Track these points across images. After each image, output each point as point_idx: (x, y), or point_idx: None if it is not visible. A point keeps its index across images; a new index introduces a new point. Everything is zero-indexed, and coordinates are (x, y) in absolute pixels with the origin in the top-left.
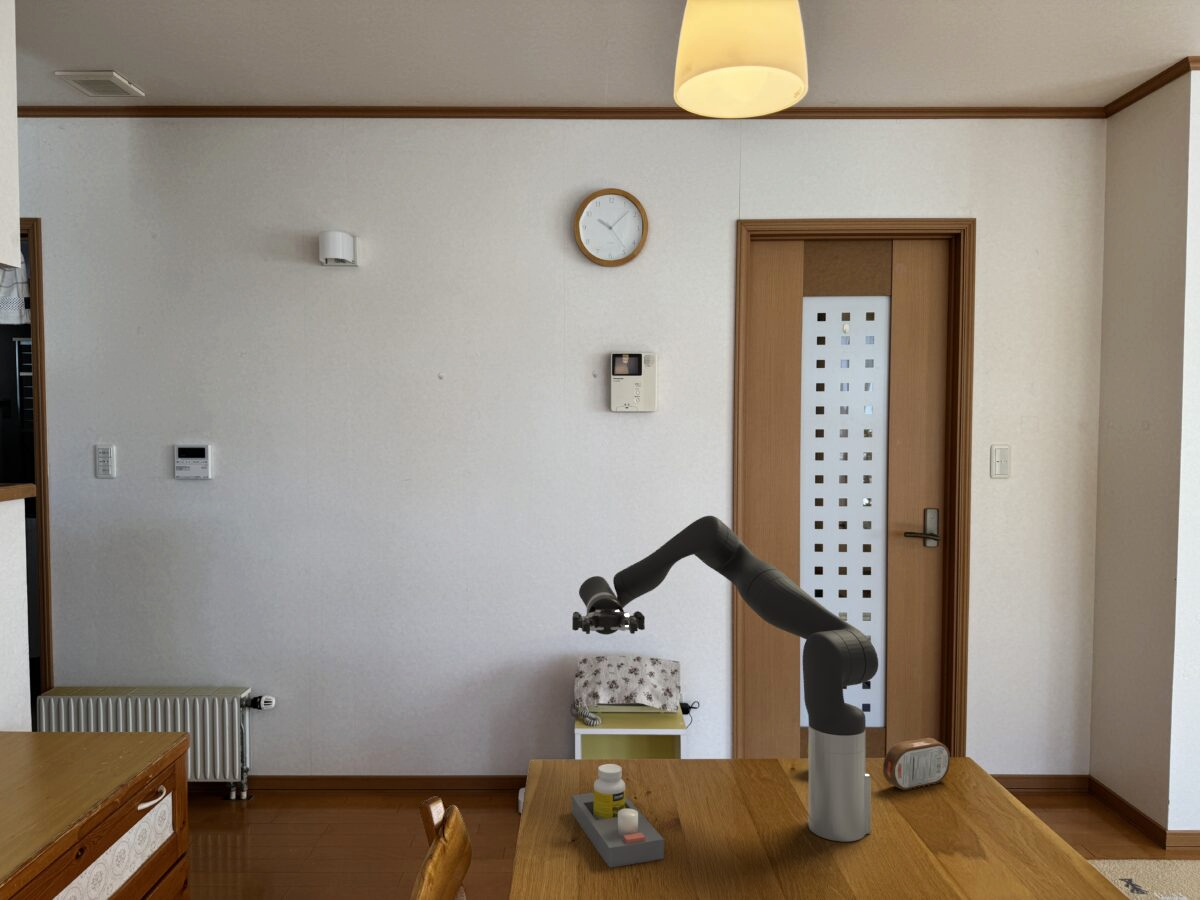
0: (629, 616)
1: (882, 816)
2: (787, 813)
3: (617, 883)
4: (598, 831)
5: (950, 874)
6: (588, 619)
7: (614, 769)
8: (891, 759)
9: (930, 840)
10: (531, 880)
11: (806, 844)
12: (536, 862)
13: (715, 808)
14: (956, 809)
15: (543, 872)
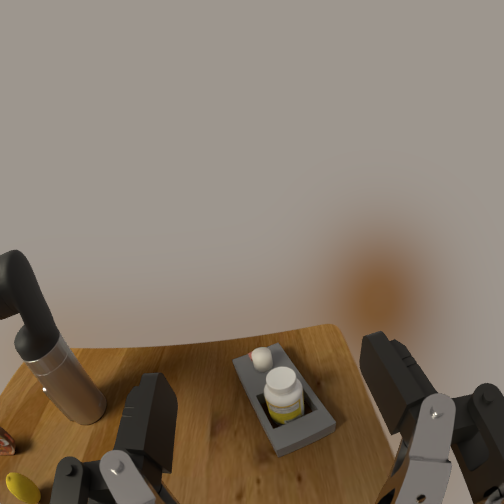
0: (128, 495)
1: (50, 419)
2: (106, 437)
3: (272, 339)
4: (291, 362)
5: None
6: (403, 392)
7: (274, 374)
8: (2, 431)
9: None
10: (333, 330)
11: (120, 392)
12: (338, 348)
13: None
14: (12, 415)
15: (328, 339)
